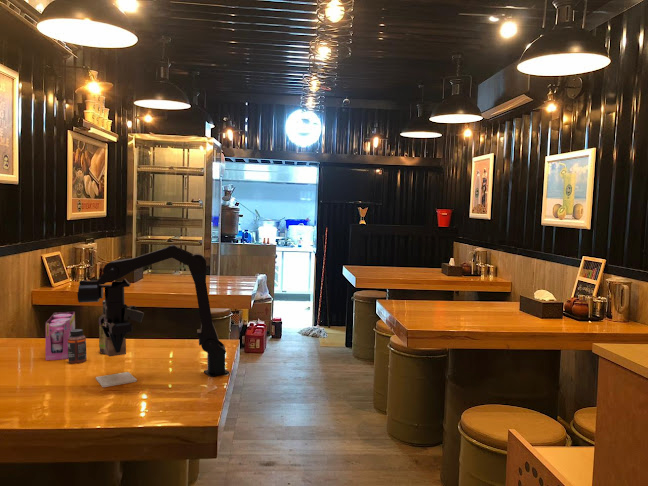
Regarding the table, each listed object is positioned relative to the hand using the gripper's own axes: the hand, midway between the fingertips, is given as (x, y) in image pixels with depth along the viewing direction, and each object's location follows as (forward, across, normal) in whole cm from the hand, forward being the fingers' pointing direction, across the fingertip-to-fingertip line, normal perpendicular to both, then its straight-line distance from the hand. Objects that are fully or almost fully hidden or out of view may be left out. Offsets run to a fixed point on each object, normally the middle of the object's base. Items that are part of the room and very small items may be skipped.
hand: (115, 350), depth 164 cm
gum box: (+10, +48, +9) cm, 49 cm away
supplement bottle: (+10, +30, +6) cm, 32 cm away
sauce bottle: (+10, +37, -6) cm, 39 cm away
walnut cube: (+1, 0, 0) cm, 1 cm away
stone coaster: (+10, 0, 0) cm, 10 cm away
